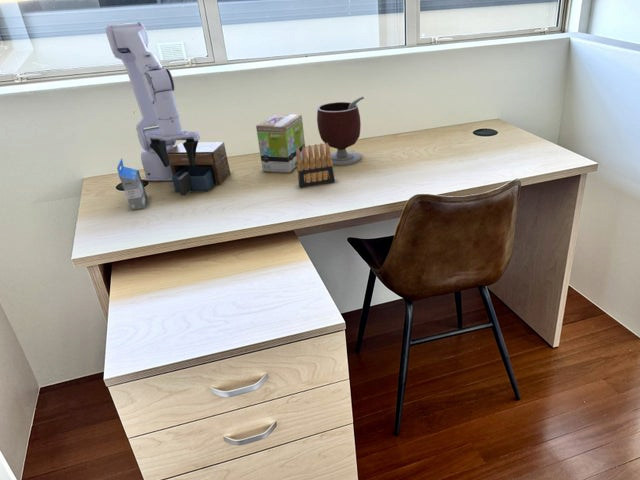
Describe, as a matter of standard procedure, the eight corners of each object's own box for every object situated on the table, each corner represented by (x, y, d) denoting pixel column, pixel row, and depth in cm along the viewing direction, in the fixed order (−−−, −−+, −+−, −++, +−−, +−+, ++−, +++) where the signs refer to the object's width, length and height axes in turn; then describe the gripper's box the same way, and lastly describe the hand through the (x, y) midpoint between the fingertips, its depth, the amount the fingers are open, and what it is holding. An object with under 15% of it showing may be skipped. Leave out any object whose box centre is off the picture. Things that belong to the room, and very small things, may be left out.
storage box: (167, 199, 161) (161, 179, 158) (188, 179, 175) (183, 161, 172) (200, 199, 161) (195, 179, 157) (219, 179, 174) (215, 160, 171)
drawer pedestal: (218, 187, 168) (210, 153, 163) (173, 187, 169) (164, 154, 164) (230, 173, 178) (223, 141, 173) (188, 174, 179) (180, 142, 174)
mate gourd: (318, 166, 181) (310, 102, 170) (325, 152, 193) (318, 92, 182) (365, 165, 180) (361, 101, 169) (369, 152, 192) (365, 91, 181)
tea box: (291, 173, 176) (284, 126, 169) (262, 172, 178) (254, 125, 170) (307, 157, 189) (302, 113, 181) (279, 157, 191) (273, 112, 183)
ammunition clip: (333, 180, 170) (329, 141, 163) (335, 182, 168) (331, 142, 162) (298, 186, 167) (293, 146, 160) (300, 188, 165) (294, 148, 159)
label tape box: (145, 208, 156) (132, 165, 150) (129, 210, 155) (116, 167, 149) (147, 197, 163) (135, 156, 157) (133, 199, 162) (120, 157, 156)
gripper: (135, 121, 148) (149, 170, 156) (187, 120, 147) (199, 170, 155) (147, 114, 154) (160, 162, 162) (197, 113, 153) (208, 161, 161)
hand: (180, 165), depth 159 cm, fingers open, 7 cm apart
